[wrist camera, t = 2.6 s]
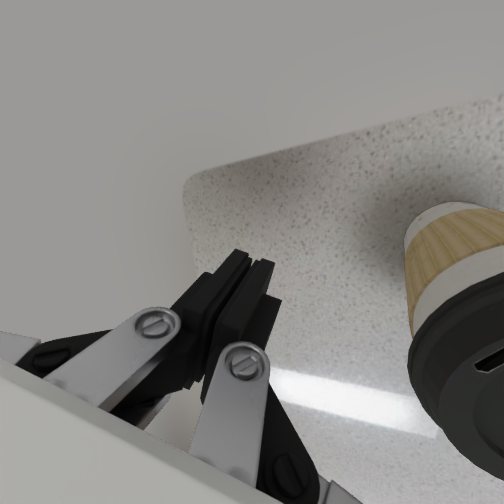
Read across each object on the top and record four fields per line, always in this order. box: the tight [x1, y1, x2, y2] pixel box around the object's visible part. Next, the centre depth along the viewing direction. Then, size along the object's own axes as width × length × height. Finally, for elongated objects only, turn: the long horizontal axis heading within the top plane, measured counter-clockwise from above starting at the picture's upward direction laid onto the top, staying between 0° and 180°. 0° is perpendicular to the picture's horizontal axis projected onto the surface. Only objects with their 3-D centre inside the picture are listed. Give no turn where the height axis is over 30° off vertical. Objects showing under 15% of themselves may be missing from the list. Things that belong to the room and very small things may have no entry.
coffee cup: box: [404, 202, 504, 481], centre depth 15 cm, size 10×10×15 cm
